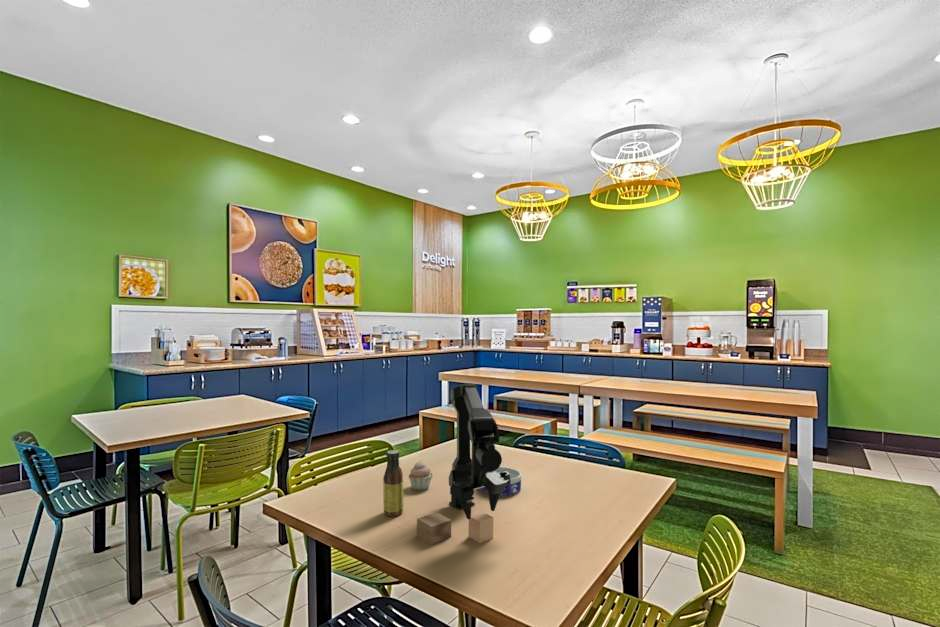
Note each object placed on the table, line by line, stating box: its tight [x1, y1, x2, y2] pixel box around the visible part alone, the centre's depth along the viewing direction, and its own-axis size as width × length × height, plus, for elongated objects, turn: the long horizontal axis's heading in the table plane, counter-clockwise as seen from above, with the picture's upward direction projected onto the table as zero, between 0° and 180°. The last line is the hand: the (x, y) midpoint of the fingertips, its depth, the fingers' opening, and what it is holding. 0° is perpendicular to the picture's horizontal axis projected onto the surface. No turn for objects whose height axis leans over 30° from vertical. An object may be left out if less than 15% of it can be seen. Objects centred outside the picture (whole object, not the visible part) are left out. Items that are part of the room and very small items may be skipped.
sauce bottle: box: [382, 449, 404, 517], centre depth 148 cm, size 7×6×20 cm
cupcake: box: [407, 460, 434, 491], centre depth 171 cm, size 9×9×10 cm
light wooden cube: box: [468, 511, 494, 544], centre depth 132 cm, size 5×5×6 cm
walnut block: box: [416, 511, 452, 545], centre depth 132 cm, size 7×7×5 cm
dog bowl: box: [480, 466, 522, 497], centre depth 171 cm, size 15×15×6 cm
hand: (480, 514), depth 132 cm, fingers open, 9 cm apart
